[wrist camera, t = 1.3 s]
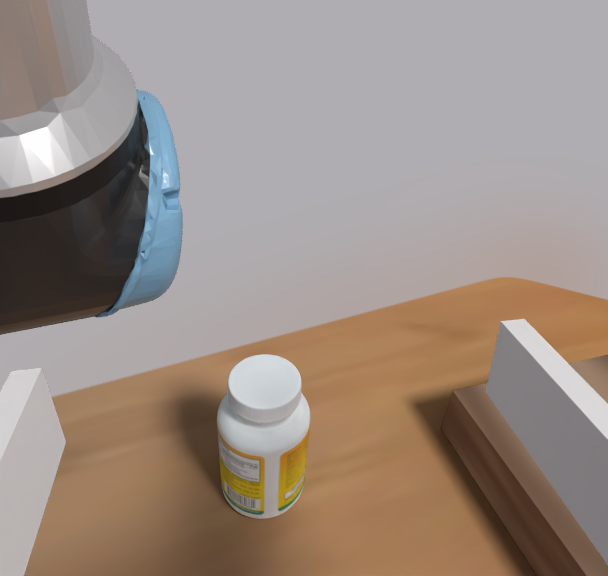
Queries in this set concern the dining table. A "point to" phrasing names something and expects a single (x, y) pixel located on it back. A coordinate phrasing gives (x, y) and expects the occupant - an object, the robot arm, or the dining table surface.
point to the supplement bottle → (263, 436)
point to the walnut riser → (523, 480)
